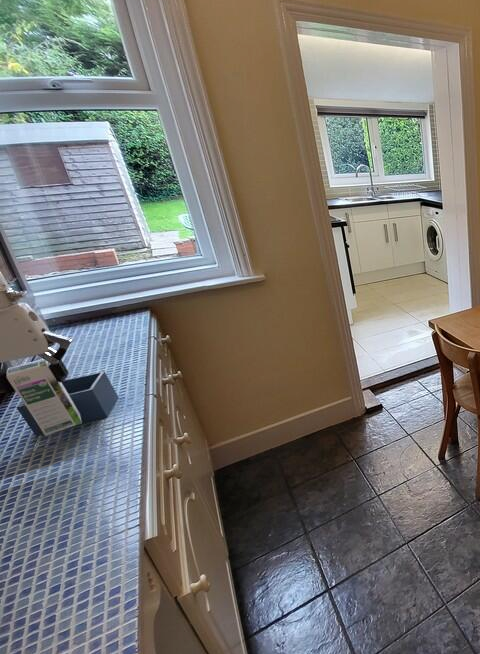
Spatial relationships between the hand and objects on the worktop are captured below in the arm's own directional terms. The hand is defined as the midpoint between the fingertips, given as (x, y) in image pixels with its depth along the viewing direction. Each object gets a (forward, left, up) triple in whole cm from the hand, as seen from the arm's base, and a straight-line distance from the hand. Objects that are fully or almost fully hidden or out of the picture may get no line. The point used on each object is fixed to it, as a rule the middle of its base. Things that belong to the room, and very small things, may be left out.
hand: (38, 384), depth 83 cm
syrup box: (0, 0, -10) cm, 10 cm away
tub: (-1, +10, -13) cm, 17 cm away
